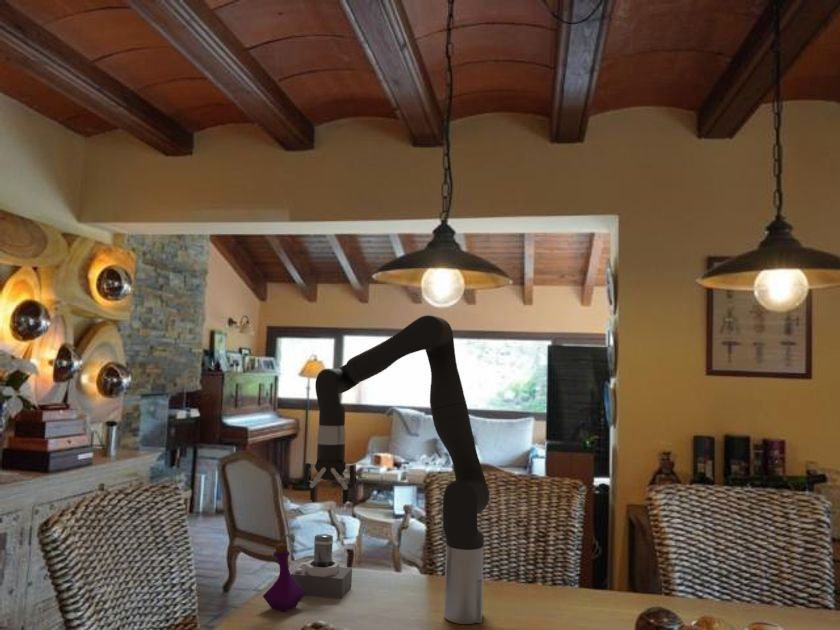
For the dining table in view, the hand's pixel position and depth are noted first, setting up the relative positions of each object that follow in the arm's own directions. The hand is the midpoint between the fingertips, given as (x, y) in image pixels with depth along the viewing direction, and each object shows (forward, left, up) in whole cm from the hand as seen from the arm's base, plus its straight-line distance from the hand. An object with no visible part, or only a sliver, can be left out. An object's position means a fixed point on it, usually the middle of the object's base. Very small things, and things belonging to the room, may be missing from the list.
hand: (329, 502), depth 172 cm
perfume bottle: (+6, +14, -23) cm, 28 cm away
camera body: (+1, 0, -23) cm, 23 cm away
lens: (+1, 0, -18) cm, 18 cm away
